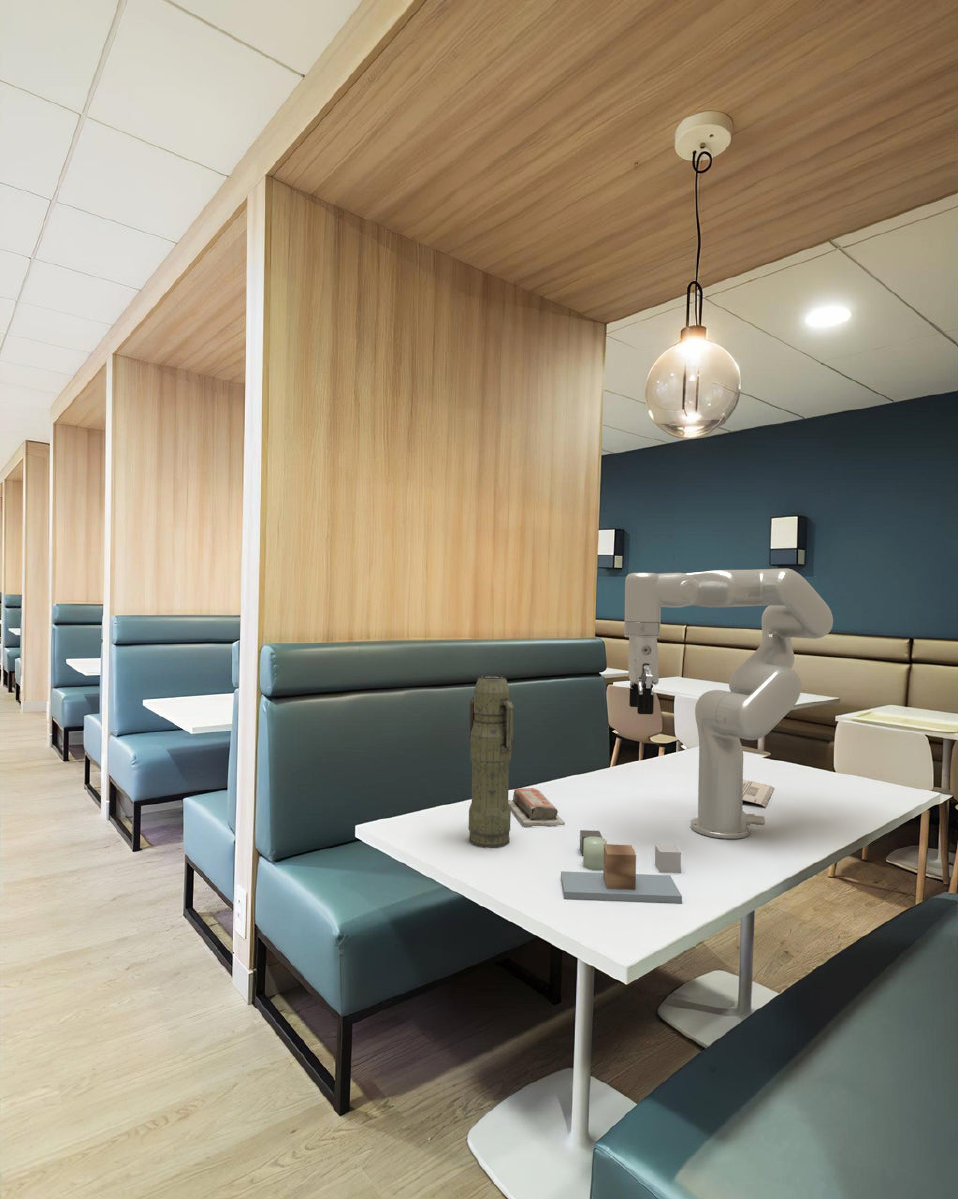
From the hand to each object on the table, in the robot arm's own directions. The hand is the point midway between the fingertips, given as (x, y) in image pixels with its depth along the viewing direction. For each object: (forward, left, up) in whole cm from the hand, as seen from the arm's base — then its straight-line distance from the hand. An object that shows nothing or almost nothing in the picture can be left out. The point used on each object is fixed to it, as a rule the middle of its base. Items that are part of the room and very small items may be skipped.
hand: (640, 710), depth 147 cm
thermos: (+32, +2, -28) cm, 43 cm away
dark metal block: (+11, +7, -28) cm, 31 cm away
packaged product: (+22, -17, -29) cm, 40 cm away
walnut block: (+8, +25, -27) cm, 38 cm away
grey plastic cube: (-3, +14, -28) cm, 32 cm away
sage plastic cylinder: (+11, +14, -28) cm, 34 cm away
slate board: (+8, +25, -28) cm, 39 cm away
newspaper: (-36, -40, -29) cm, 61 cm away
